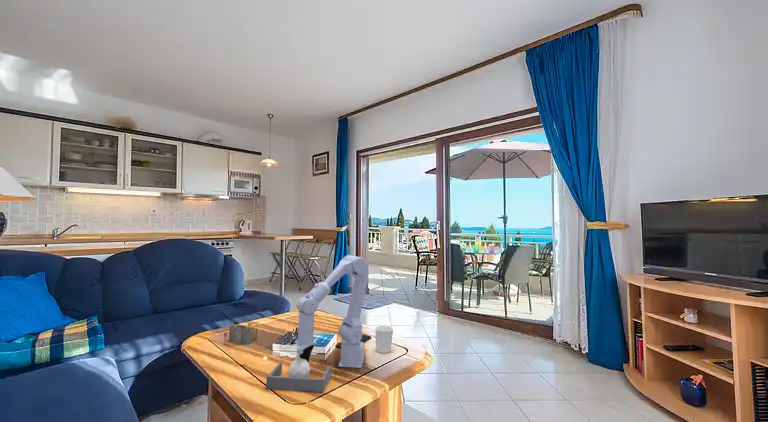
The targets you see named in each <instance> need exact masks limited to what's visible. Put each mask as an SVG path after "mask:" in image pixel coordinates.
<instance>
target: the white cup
mask: <svg viewBox="0 0 768 422" xmlns="http://www.w3.org/2000/svg"><path fill="white" fill-rule="evenodd" d="M374 330H375V351H376V352H378V353H380V354H387V353H390V352H392V351H391V350H392V341H393V331H394V330H393V327H392V326H389V325H378V326H376V327H375V329H374Z"/></svg>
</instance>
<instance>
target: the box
mask: <svg viewBox="0 0 768 422" xmlns="http://www.w3.org/2000/svg"><path fill="white" fill-rule="evenodd" d="M282 368H283V362H278V364H277V365H276V366H275V367H274V368H273V369H272V370H271V371H270V372H269V374H267V375H266V383H265V384H266V385H265V386H266V388H265V389H267V390H280V391H281V390H284V391H295V392H297V391H298V392H314V393H316V392H317V393H325V389H326V387H327V385H328V383H329V381H330V379H331V377H332V365H331V364H328V366H327V368H326V369H325V371H324V373H323V375H322V377H321V378H315V377H307V378H300V377H289V376H282V374H283V373H282V372H283V369H282Z"/></svg>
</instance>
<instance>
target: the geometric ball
mask: <svg viewBox="0 0 768 422" xmlns="http://www.w3.org/2000/svg"><path fill="white" fill-rule="evenodd" d="M287 371H288V377H300V378H309V375H310V371H311V366H310V362H309V363H308V362H307V360H305V359H302V358H300V357H299V358H296V359H293V361H292V362H291V363H290V365H289V367H288V370H287Z"/></svg>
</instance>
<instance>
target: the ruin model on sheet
mask: <svg viewBox="0 0 768 422" xmlns="http://www.w3.org/2000/svg"><path fill="white" fill-rule="evenodd" d="M253 325H254V322H251V323H250V321H249V322H248V323H247V326H245V325H239V324H237V325H236V326H235V324H232V325H229V335H228V341H229V342H230V343H231V342H232V343H235V344H236V343H237V344H242V345H247V346H249V345H251V344H253V333H254V332H253V330H254V328H253Z"/></svg>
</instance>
